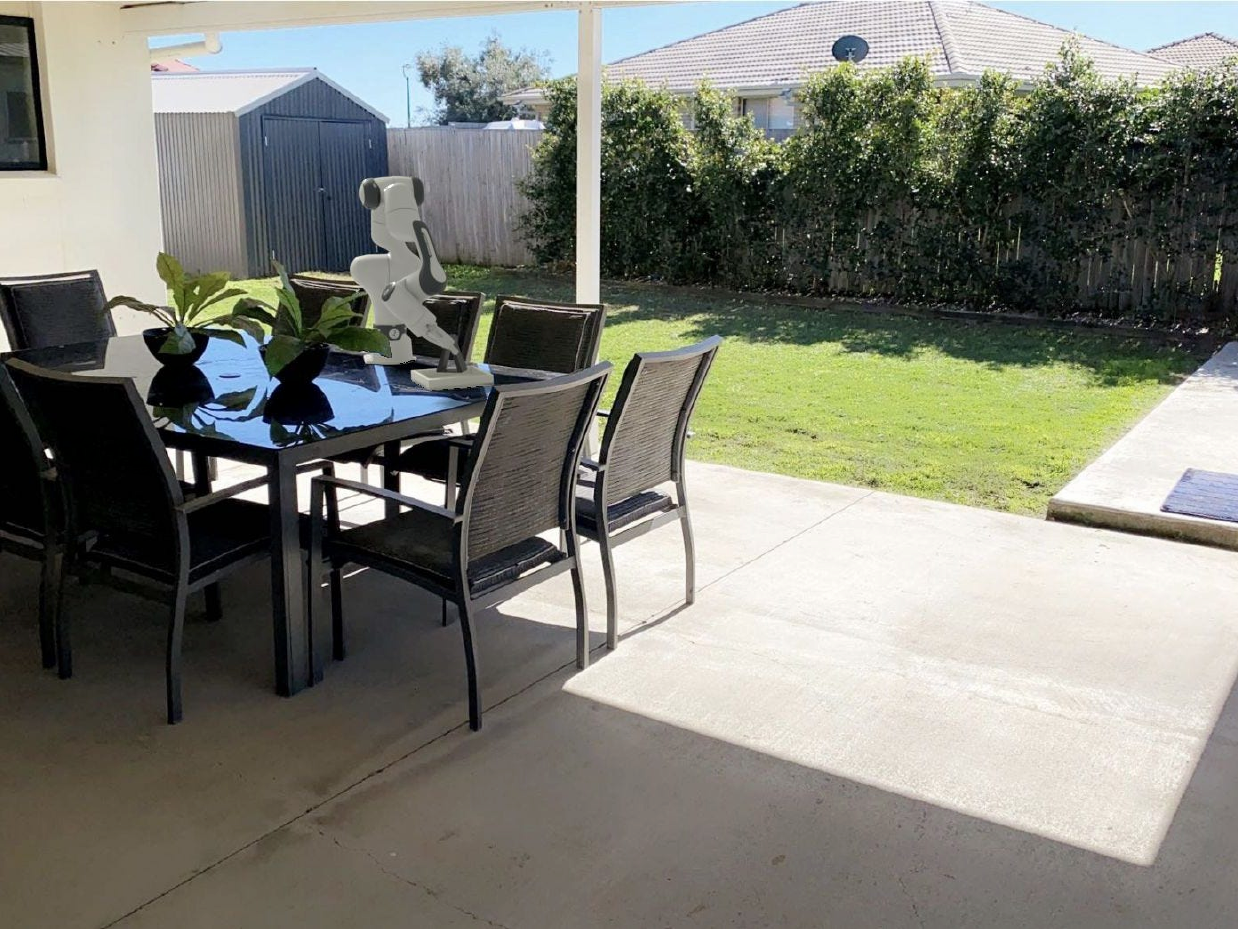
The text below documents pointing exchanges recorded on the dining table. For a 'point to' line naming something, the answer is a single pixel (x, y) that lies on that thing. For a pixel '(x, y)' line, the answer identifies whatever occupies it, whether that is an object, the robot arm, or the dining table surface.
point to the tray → (452, 378)
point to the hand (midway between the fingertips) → (452, 351)
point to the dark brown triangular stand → (457, 358)
